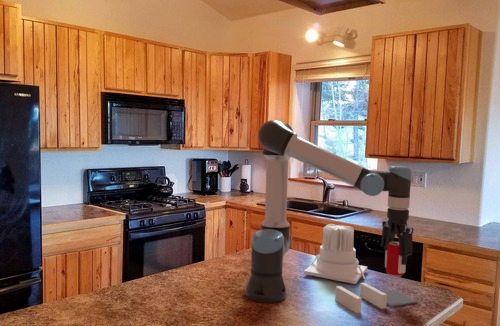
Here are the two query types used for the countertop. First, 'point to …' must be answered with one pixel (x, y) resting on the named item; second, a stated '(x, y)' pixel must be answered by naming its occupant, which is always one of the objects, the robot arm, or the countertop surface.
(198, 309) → the countertop surface
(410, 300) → the mat
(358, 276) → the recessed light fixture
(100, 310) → the countertop surface
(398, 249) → the beverage can
